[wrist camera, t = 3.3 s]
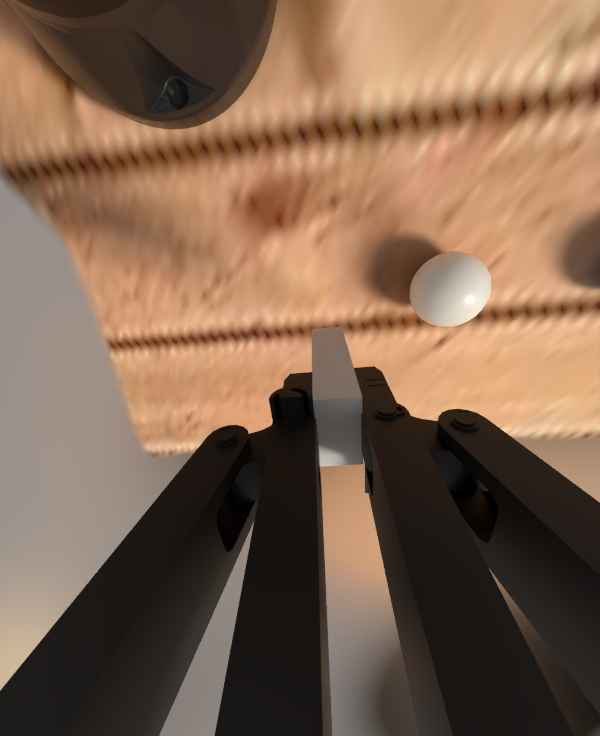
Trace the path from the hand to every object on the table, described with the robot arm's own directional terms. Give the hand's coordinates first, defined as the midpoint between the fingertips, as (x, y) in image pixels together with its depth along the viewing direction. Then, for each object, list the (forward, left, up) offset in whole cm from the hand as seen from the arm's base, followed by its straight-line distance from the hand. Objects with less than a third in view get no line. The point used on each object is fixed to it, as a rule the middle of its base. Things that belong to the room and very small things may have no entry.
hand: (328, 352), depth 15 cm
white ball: (+7, +6, -9) cm, 13 cm away
